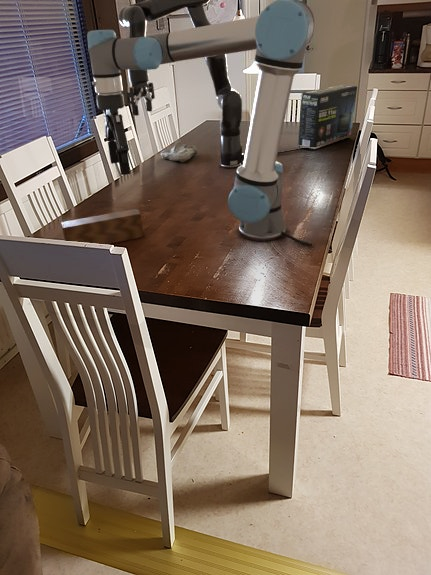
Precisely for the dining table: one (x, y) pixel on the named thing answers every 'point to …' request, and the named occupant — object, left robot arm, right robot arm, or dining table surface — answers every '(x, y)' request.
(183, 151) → the fossil
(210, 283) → the dining table surface
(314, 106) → the router box
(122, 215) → the bar
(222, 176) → the dining table surface
